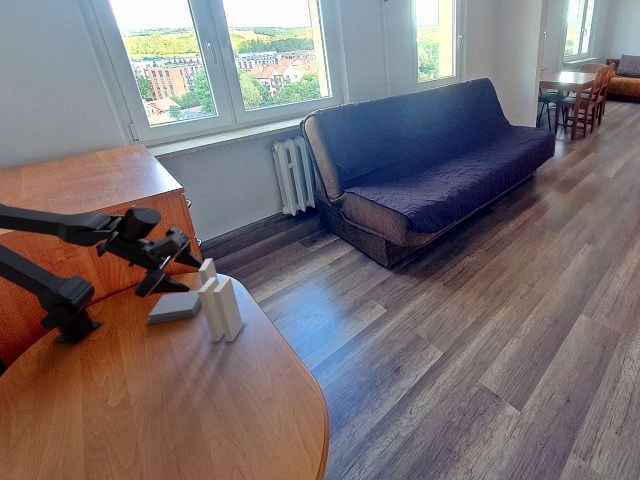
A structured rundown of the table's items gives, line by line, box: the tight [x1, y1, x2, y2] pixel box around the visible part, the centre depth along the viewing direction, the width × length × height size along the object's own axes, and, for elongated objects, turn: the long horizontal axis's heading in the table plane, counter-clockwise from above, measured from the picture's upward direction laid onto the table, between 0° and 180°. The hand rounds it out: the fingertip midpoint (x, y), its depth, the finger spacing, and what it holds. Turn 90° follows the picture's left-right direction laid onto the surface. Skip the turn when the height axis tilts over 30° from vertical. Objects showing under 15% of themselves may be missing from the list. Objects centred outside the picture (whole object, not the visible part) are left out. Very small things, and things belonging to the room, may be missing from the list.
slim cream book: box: [198, 257, 220, 286], centre depth 91 cm, size 2×5×16 cm, turn 13°
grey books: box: [147, 289, 202, 325], centre depth 93 cm, size 11×8×3 cm
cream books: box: [198, 277, 244, 342], centre depth 84 cm, size 5×5×16 cm
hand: (196, 278), depth 89 cm, fingers open, 9 cm apart
